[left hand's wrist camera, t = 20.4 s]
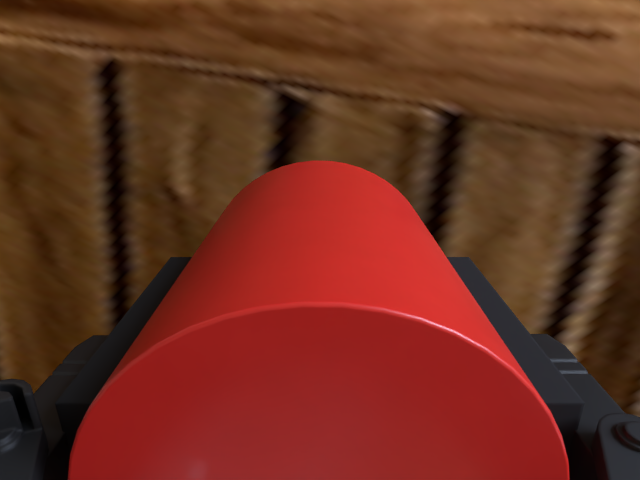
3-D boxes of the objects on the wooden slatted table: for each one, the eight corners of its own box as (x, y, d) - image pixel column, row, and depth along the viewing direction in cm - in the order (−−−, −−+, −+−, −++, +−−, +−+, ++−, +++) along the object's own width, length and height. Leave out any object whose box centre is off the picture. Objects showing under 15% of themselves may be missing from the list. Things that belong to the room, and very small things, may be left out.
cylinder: (425, 355, 17) (536, 657, 8) (225, 364, 17) (126, 669, 9) (434, 154, 14) (619, 289, 5) (194, 166, 14) (-6, 317, 6)
